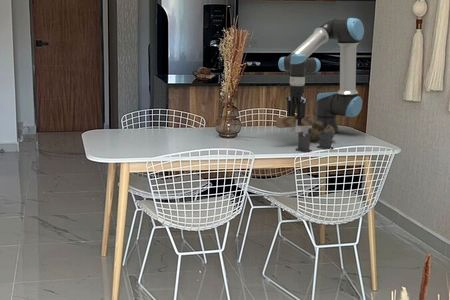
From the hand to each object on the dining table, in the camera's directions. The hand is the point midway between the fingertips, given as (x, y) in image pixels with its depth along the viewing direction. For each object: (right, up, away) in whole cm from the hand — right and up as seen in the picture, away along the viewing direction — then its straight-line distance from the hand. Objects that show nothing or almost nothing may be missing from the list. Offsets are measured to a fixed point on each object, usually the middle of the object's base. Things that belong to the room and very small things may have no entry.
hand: (295, 131), depth 302 cm
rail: (0, +3, 0) cm, 3 cm away
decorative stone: (+16, -5, +12) cm, 20 cm away
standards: (+8, -9, -11) cm, 16 cm away
